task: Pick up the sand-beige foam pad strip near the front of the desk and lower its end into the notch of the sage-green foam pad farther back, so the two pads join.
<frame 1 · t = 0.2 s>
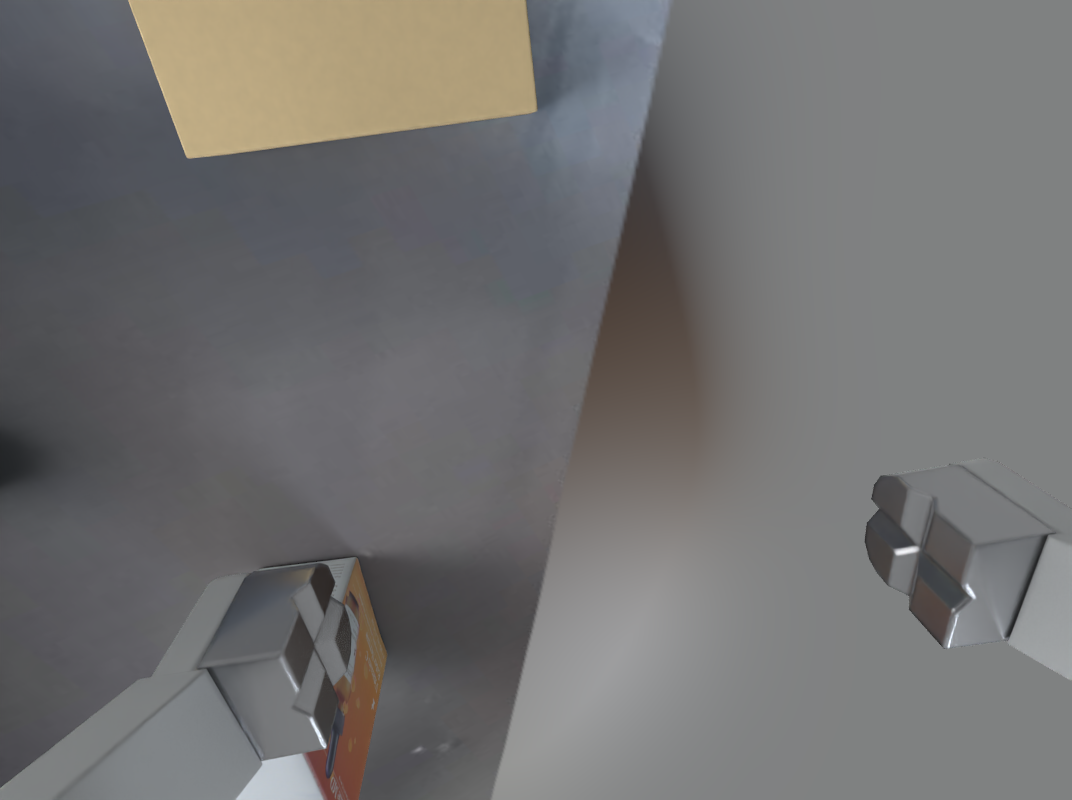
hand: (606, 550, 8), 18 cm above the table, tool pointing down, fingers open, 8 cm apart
beige pad: (358, 43, 20), on the table
small box: (327, 608, 32), on the table
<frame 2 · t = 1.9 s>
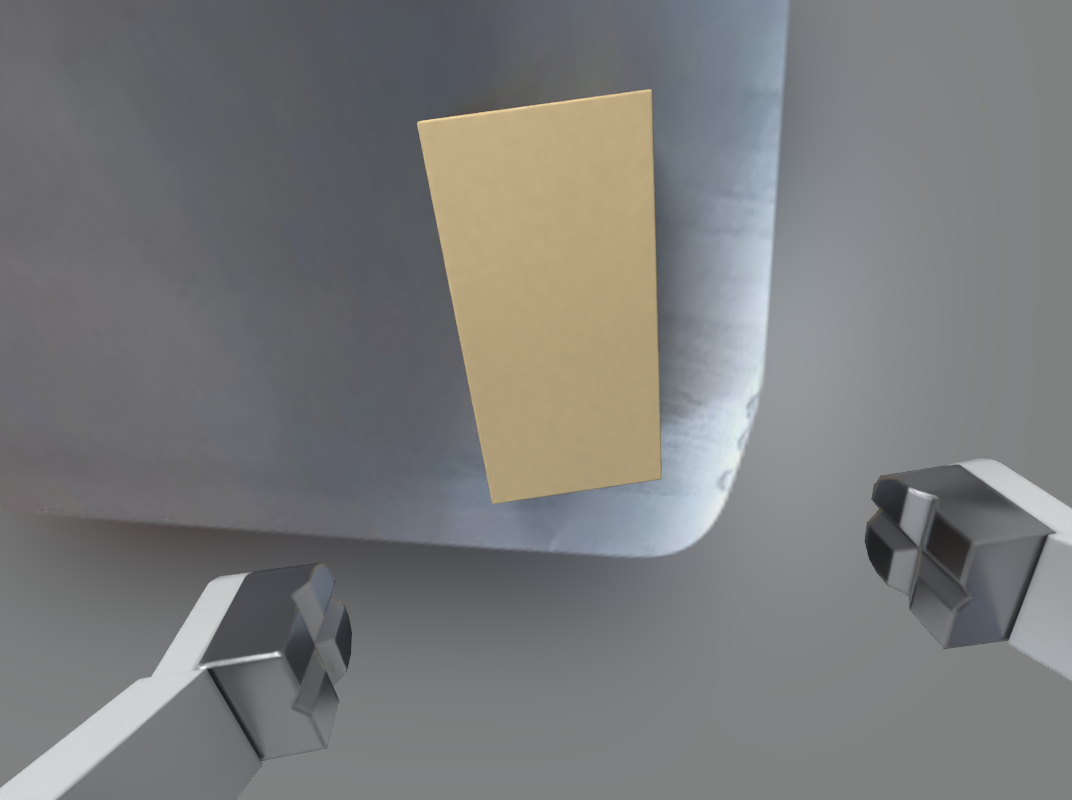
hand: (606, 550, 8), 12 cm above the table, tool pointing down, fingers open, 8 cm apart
beige pad: (549, 301, 19), on the table
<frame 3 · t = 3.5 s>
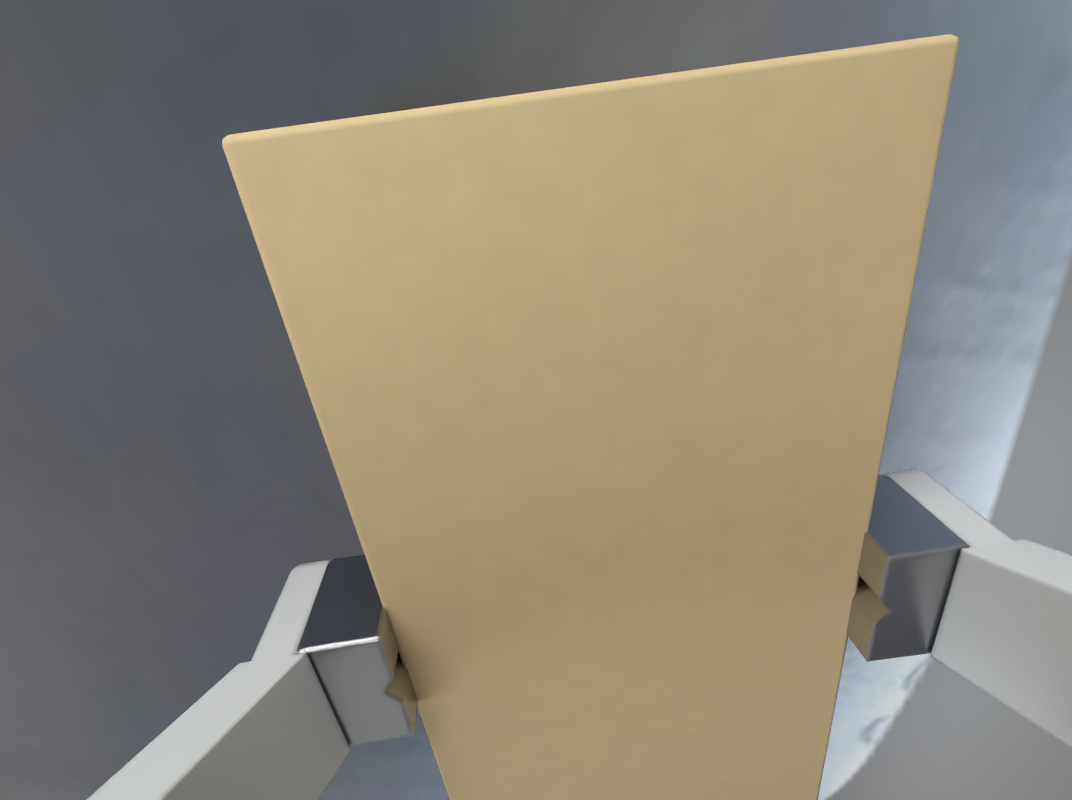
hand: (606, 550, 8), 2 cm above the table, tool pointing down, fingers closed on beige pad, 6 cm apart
beige pad: (590, 484, 10), on the table, touching gripper
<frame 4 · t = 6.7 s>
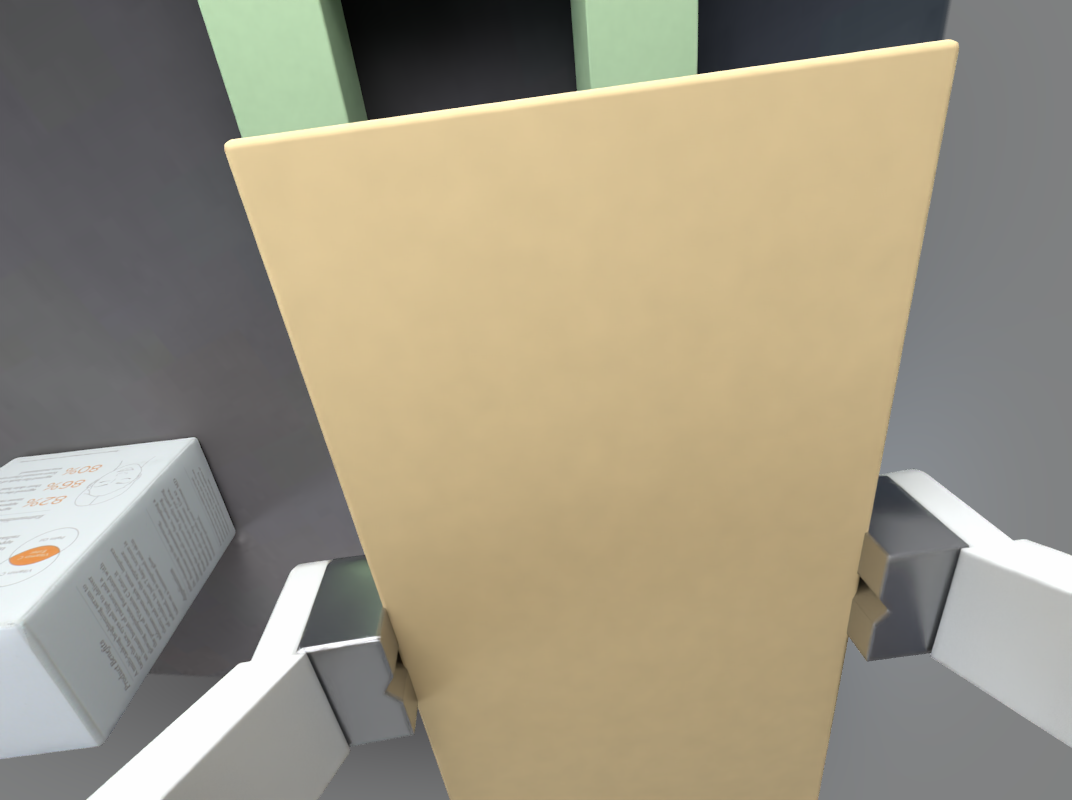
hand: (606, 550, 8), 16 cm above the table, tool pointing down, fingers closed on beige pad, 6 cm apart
beige pad: (591, 486, 10), point 14 cm above the table, touching gripper
small box: (137, 492, 26), on the table
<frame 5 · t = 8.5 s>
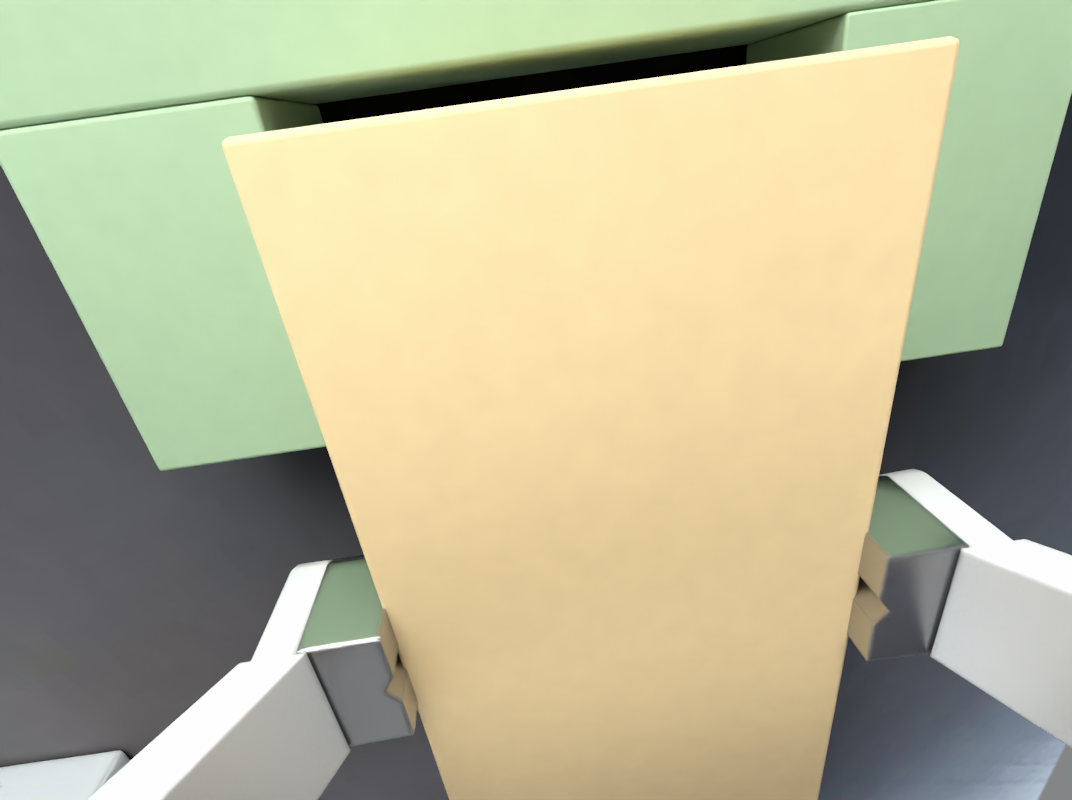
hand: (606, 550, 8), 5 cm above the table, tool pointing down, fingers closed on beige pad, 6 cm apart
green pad: (526, 3, 9), on the table
beige pad: (590, 485, 10), point 3 cm above the table, touching gripper
when the fingers open (1 cm above the table, at t = 9.9 s): beige pad stays where it is, on the table.
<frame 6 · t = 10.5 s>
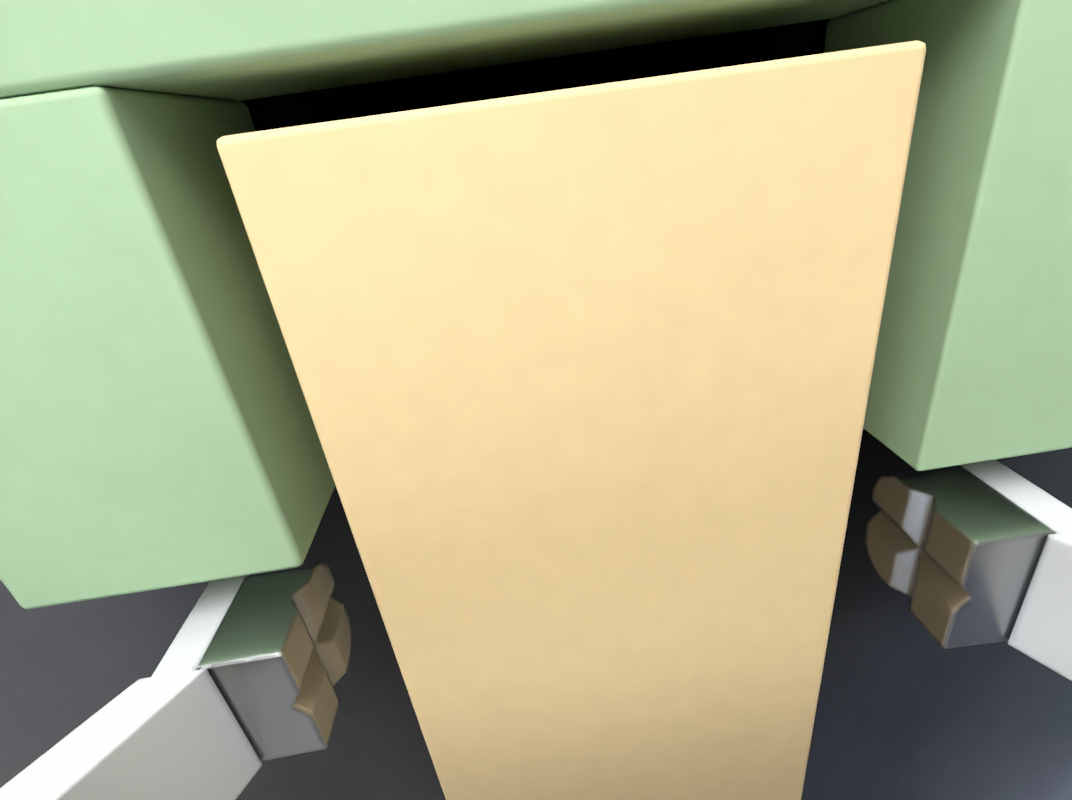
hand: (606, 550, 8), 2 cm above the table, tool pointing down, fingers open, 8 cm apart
beige pad: (581, 479, 10), on the table
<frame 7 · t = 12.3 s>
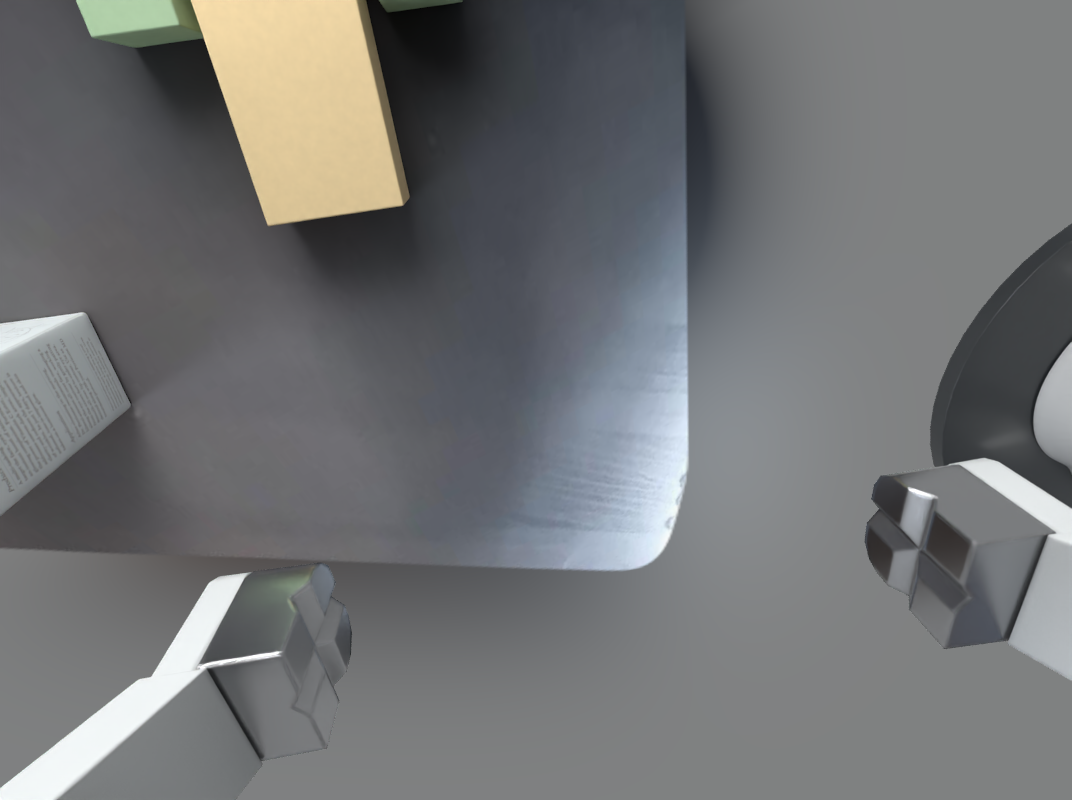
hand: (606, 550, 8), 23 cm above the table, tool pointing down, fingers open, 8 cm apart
beige pad: (310, 65, 24), on the table
small box: (38, 369, 29), on the table
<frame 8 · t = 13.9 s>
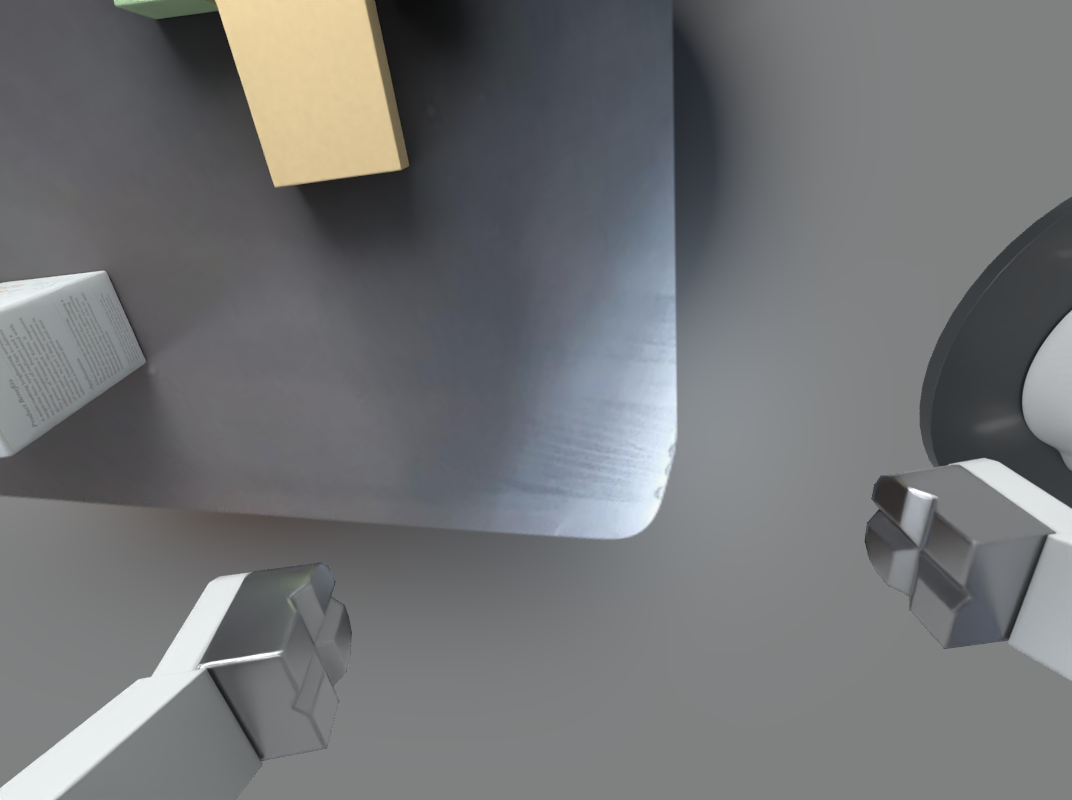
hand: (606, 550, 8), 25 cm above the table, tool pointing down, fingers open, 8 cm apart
beige pad: (317, 37, 26), on the table
small box: (61, 324, 31), on the table
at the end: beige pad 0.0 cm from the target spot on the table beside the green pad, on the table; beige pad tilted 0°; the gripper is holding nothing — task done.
